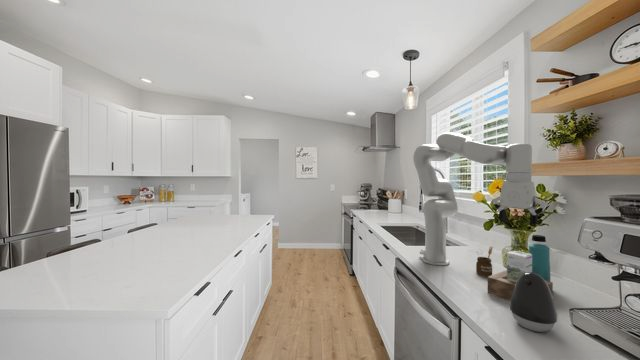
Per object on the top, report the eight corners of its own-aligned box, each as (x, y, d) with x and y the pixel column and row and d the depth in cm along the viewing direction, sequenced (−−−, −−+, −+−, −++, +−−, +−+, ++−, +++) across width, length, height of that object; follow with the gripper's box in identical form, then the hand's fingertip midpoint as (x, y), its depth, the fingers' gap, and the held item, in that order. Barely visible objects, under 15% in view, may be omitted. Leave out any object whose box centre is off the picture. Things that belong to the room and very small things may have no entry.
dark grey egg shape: (503, 324, 74) (503, 271, 74) (517, 313, 80) (517, 264, 80) (550, 342, 66) (550, 282, 66) (561, 329, 72) (561, 274, 72)
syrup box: (532, 294, 91) (532, 253, 91) (525, 298, 88) (525, 256, 88) (513, 289, 96) (513, 249, 96) (506, 292, 93) (506, 252, 93)
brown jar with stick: (473, 272, 116) (473, 245, 116) (486, 271, 116) (486, 245, 116) (481, 277, 110) (481, 248, 110) (496, 276, 111) (496, 248, 111)
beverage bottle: (554, 291, 96) (554, 237, 96) (534, 289, 97) (534, 236, 97) (543, 284, 102) (543, 234, 102) (524, 283, 104) (524, 233, 104)
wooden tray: (487, 293, 94) (487, 276, 94) (506, 285, 101) (506, 270, 101) (534, 309, 82) (534, 291, 82) (552, 299, 89) (552, 282, 89)
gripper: (488, 177, 101) (487, 220, 102) (542, 177, 86) (541, 228, 87) (498, 177, 105) (497, 219, 105) (552, 177, 90) (551, 226, 90)
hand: (517, 223), depth 96 cm, fingers open, 9 cm apart
